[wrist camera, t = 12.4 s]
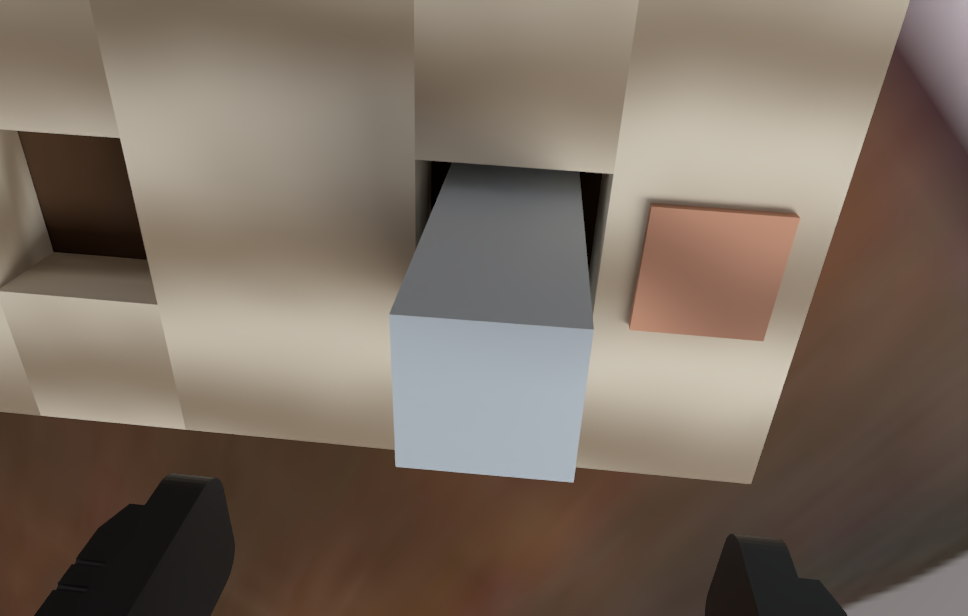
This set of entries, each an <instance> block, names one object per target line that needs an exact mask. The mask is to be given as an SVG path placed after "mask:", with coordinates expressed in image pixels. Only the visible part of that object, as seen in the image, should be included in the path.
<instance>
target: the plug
mask: <svg viewBox="0 0 968 616" xmlns="http://www.w3.org/2000/svg"><path fill="white" fill-rule="evenodd" d="M389 324H390V347H391V371H392V394H393V417H394V440H395V464H396V467H405V468H416V469H427V470H438V471H450V472H461V473H472V474H484V475H495V476H506V477H517V478H529V479H540V480H551V481H563V482H574V475H575V468H576V460H577V452H578V445H579V437H580V430H581V422H582V415H583V407H584V400H585V392H586V385H587V377H588V370H589V362H590V355H591V347H592V340H593V332H594V326H593V315H592V304H591V293H590V282H589V271H588V260H587V250H586V239H585V228H584V217H583V206H582V195H581V184H580V173H579V171H566V170H552V169H538V168H524V167H511V166H497V165H483V164H469V163H456V162H452V164H451V166H450V168H449V171H448V173H447V176H446V178H445V180H444V183H443V185H442V188H441V190H440V193H439V195H438V197H437V200H436V202H435V205H434V207H433V209H432V212H431V214H430V217H429V219H428V222H427V224H426V226H425V229H424V231H423V234H422V236H421V238H420V241H419V243H418V246H417V248H416V251H415V253H414V255H413V258H412V260H411V263H410V265H409V267H408V270H407V272H406V275H405V277H404V280H403V282H402V284H401V287H400V289H399V292H398V294H397V296H396V299H395V301H394V304H393V306H392V308H391V311H390V313H389Z"/></svg>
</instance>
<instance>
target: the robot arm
mask: <svg viewBox="0 0 968 616" xmlns="http://www.w3.org/2000/svg"><path fill="white" fill-rule="evenodd" d="M234 552H235V543H234V537H233V532H232V527H231V522H230V518H229V513H228V508H227V503H226V499H225V494H224V489H223V485H222V483H221V481H220V480H219V479H218V478H212V477H202V476H193V475H183V474H169V475H167V476H166V477H165V478H164V479H163V480H162V481H161V482H160V484H159V485H158V487H157V488H156V490H155V491H154V492H153V494H152V495H151V497H150V498H149V500H148V501H147V503H146V504H145V505H137V504H129V505H128V506H126V507H125V508H124V509H122V510H121V511H120V512H119V513H117V514H116V515H115V516H113V517H112V518H111V519H110V520H108V521H107V522H106V523H104V524H103V525H102V526H100V527H99V528H98V529H97V531H96V532H95V533H94V535H93V536H92V537H91V539H90V540H89V542H88V543H87V544H86V546H85V547H84V548H83V550H82V551H81V552H80V554H79V555H78V557H77V558H76V563H75V564H74V565H73V564H72V565H71V566H70V567H69V569H68V570H67V572H66V573H65V574H64V576H63V577H62V578H61V580H60V581H59V582H58V587H57V589H56V590H53V591H52V592H51V593H50V595H49V596H48V597H47V599H46V600H45V602H44V603H43V604H42V606H41V607H40V608H39V610H38V611H37V613H36V614H35V615H34V616H210V615H211V613H212V611H213V609H214V607H215V605H216V603H217V601H218V599H219V597H220V595H221V593H222V591H223V589H224V587H225V585H226V583H227V580H228V578H229V575H230V572H231V569H232V565H233V560H234ZM705 616H847V614H846V612H845V611H844V610H843V609H842V607H841V606H840V605H839V604H838V602H837V601H836V600H835V599H834V598H833V596H832V595H831V594H830V593H829V591H828V590H827V589H826V588H825V587H824V585H823V584H822V583H821V582H820V580H813V579H804V578H798V576H797V573H796V570H795V567H794V564H793V561H792V558H791V556H790V553H789V550H788V548H787V546H786V544H785V543H784V541H782V540H781V539H776V538H766V537H757V536H747V535H738V534H730V535H729V536H728V537H727V539H726V541H725V544H724V547H723V550H722V553H721V556H720V559H719V562H718V565H717V568H716V571H715V574H714V577H713V580H712V583H711V586H710V589H709V592H708V595H707V600H706V607H705Z"/></svg>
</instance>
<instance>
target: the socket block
mask: <svg viewBox="0 0 968 616" xmlns="http://www.w3.org/2000/svg"><path fill="white" fill-rule="evenodd" d="M909 2H910V0H0V412H9V413H20V414H30V415H40V416H51V417H61V418H72V419H82V420H92V421H103V422H113V423H123V424H134V425H144V426H154V427H165V428H175V429H186V430H196V431H206V432H217V433H227V434H237V435H248V436H258V437H268V438H279V439H289V440H300V441H310V442H320V443H331V444H341V445H351V446H362V447H372V448H382V449H393V450H395V440H394V417H393V394H392V371H391V347H390V324H389V313H390V311H391V308H392V306H393V304H394V301H395V299H396V296H397V294H398V292H399V289H400V287H401V284H402V282H403V280H404V277H405V275H406V272H407V270H408V267H409V265H410V263H411V260H412V258H413V255H414V253H415V251H416V248H417V246H418V243H419V241H420V238H421V236H422V234H423V231H424V229H425V226H426V224H427V222H428V219H429V217H430V214H431V162H432V161H442V162H456V163H469V164H483V165H497V166H511V167H524V168H538V169H552V170H566V171H579V172H593V173H602V179H601V186H600V194H599V201H598V208H597V216H596V223H595V230H594V237H593V245H592V252H591V259H590V267H589V282H590V293H591V304H592V315H593V326H594V332H593V340H592V347H591V355H590V362H589V370H588V377H587V385H586V392H585V400H584V407H583V415H582V422H581V430H580V437H579V445H578V452H577V460H576V467H579V468H590V469H600V470H610V471H621V472H631V473H642V474H652V475H662V476H673V477H683V478H693V479H704V480H714V481H724V482H735V483H745V484H751V482H752V479H753V476H754V473H755V470H756V467H757V464H758V461H759V458H760V455H761V452H762V449H763V446H764V443H765V440H766V437H767V434H768V431H769V427H770V424H771V421H772V418H773V415H774V412H775V409H776V406H777V403H778V400H779V397H780V394H781V391H782V388H783V385H784V382H785V379H786V376H787V373H788V370H789V367H790V364H791V361H792V358H793V354H794V351H795V348H796V345H797V342H798V339H799V336H800V333H801V330H802V327H803V324H804V321H805V318H806V315H807V312H808V309H809V306H810V303H811V300H812V297H813V294H814V291H815V288H816V285H817V282H818V278H819V275H820V272H821V269H822V266H823V263H824V260H825V257H826V254H827V251H828V248H829V245H830V242H831V239H832V236H833V233H834V230H835V227H836V224H837V221H838V218H839V215H840V212H841V209H842V206H843V202H844V199H845V196H846V193H847V190H848V187H849V184H850V181H851V178H852V175H853V172H854V169H855V166H856V163H857V160H858V157H859V154H860V151H861V148H862V145H863V142H864V139H865V136H866V133H867V129H868V126H869V123H870V120H871V117H872V114H873V111H874V108H875V105H876V102H877V99H878V96H879V93H880V90H881V87H882V84H883V81H884V78H885V75H886V72H887V69H888V66H889V63H890V60H891V57H892V53H893V50H894V47H895V44H896V41H897V38H898V35H899V32H900V29H901V26H902V23H903V20H904V17H905V14H906V11H907V8H908V5H909ZM17 131H30V132H44V133H57V134H71V135H85V136H98V137H112V138H120V140H121V145H122V149H123V153H124V158H125V162H126V167H127V171H128V176H129V180H130V184H131V189H132V193H133V198H134V202H135V207H136V211H137V216H138V220H139V224H140V229H141V233H142V238H143V242H144V247H145V251H146V255H147V260H145V259H133V258H121V257H109V256H96V255H84V254H72V253H60V252H53V248H52V245H51V242H50V238H49V235H48V232H47V228H46V225H45V222H44V218H43V215H42V212H41V208H40V205H39V202H38V199H37V195H36V192H35V189H34V185H33V182H32V179H31V175H30V172H29V169H28V165H27V162H26V159H25V155H24V152H23V149H22V145H21V142H20V139H19V135H18V132H17Z"/></svg>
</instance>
